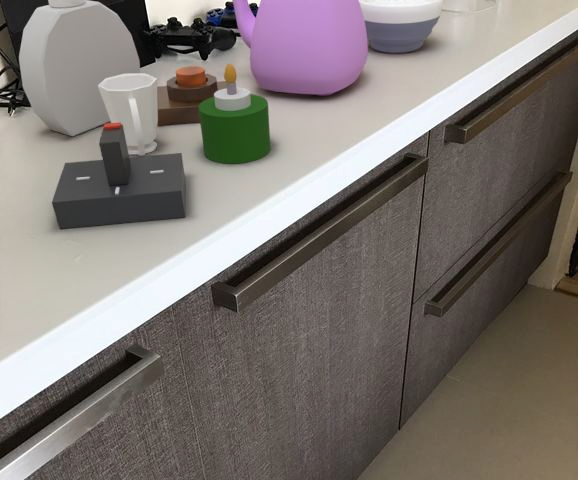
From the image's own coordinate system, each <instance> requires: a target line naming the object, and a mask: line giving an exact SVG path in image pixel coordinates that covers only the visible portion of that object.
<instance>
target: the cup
mask: <svg viewBox="0 0 578 480" xmlns="http://www.w3.org/2000/svg"><path fill="white" fill-rule="evenodd" d="M157 87H158V78H157V77H155V76H152V75H151V74H148V73H141V72H140V73H131V74H121V75H117V76H113V77H109V78H106V79H104V80H103V81H102V82H101V83H100V84H99V85H98V88H99V91H100V93H101V96H102V99H103V101H104V104H105V107H106V109H107V112H108V115H109V118H110V121H111V122H110V123H119V122H120V123H121V124H122V125H123V129H124V134H125V139H126V144H127V149H128V154H129V155H138V157H140V156H146V154H148V153H151V152H154V151H155V150H156V148H157V147H158V143H157V142H156V141H154V140H155V139H156V138H157V136H158V135H157V133H158V126H157V123H158V108H157Z"/></svg>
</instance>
